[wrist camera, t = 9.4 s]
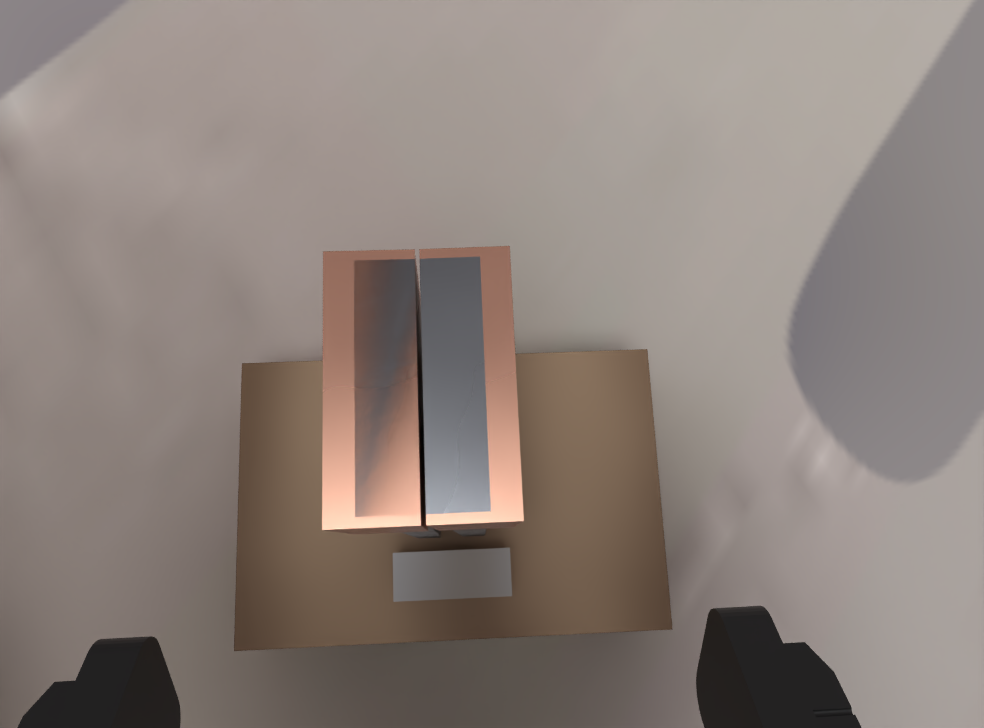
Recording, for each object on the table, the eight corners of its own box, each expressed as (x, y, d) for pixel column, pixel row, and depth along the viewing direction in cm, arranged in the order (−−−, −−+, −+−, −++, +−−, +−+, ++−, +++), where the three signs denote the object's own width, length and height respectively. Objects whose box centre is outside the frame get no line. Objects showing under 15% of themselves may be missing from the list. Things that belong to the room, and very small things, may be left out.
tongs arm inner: (408, 542, 22) (322, 529, 7) (406, 444, 22) (322, 251, 8) (441, 541, 22) (420, 524, 7) (438, 443, 23) (414, 249, 8)
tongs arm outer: (462, 540, 22) (426, 524, 7) (459, 442, 23) (419, 249, 8) (495, 539, 22) (524, 521, 7) (491, 441, 23) (510, 245, 8)
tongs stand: (261, 638, 25) (210, 661, 20) (266, 383, 26) (221, 346, 21) (648, 619, 25) (692, 637, 20) (627, 371, 27) (663, 331, 22)
